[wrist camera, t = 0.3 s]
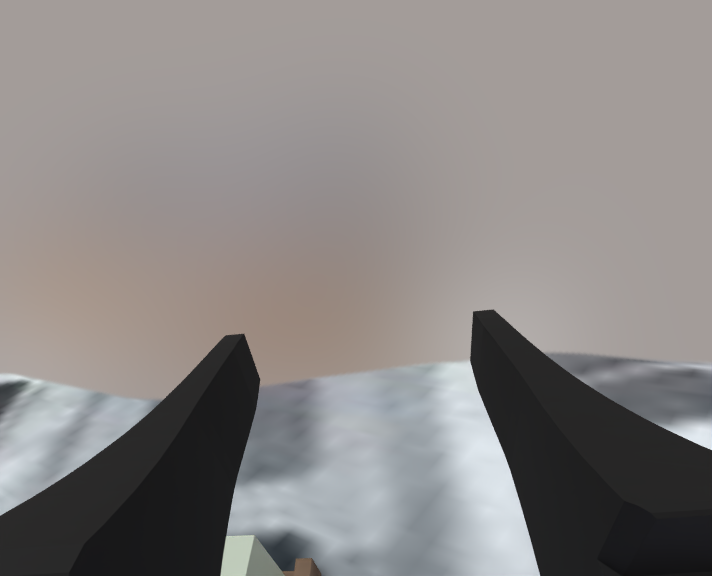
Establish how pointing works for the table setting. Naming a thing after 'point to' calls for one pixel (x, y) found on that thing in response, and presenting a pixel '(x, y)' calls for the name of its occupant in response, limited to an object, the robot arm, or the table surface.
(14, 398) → the table surface
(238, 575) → the pale green slab
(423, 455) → the table surface
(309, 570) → the rack
